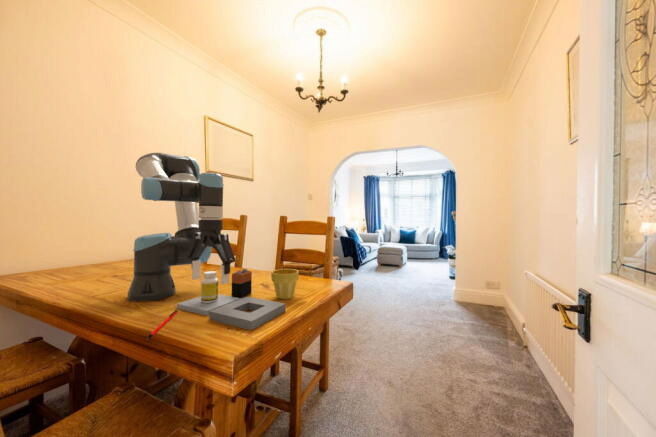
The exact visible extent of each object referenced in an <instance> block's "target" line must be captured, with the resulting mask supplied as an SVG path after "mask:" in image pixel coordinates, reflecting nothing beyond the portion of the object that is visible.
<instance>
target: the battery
mask: <svg viewBox="0 0 656 437" xmlns="http://www.w3.org/2000/svg"><path fill="white" fill-rule="evenodd" d="M252 276H253V274H252V271H250V270H248V268H242V269H241V270H236V272H233V273H232V274H231V297H237V298H240V299H242V298H245V297H249V296H250V295H252Z"/></svg>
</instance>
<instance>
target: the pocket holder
mask: <svg viewBox="0 0 656 437" xmlns="http://www.w3.org/2000/svg"><path fill="white" fill-rule="evenodd" d="M247 311H251V312H247ZM285 312H286V303H285V302H279V301H272V300H268V299H263V298H262V299H261V298H257V297H251V296H246V297H243V298H241V299H240V300H237V301H235V302H232V303H229V304H227V305H224V306H222V307H219V308H217V309H214V310H211V311H209V315H208V321H212V322H216V323H220V324H224V325H228V326H233V327H235V328H240V329H241V328H242V329H244V330H245V329H246V330H250V331H253V330H255V329H257V328H258V327H260V326H262V325H263V324H265V323H268V322H269V321H271V320H273V319H274V318H276V317H278V316H279V315H281V314H283V313H285Z"/></svg>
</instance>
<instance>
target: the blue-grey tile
mask: <svg viewBox="0 0 656 437" xmlns="http://www.w3.org/2000/svg"><path fill="white" fill-rule="evenodd" d="M237 300H240V298H237V297H232V295H231V296H230V295H226V294H225V295H224V294H220V293H218V300H217V301H215V302H211V303H203V302H201V295H200V296H197V297H195V298H192V299H187V300H186V301H182V302H179V303H177V304H176V309H177V310H183V311H187V312H190V313H193V314H194V313H195V314H200V315H203V316H208V317H209V311H211V310H214V309H217V308H219V307H222V306H224V305H227V304H229V303H232V302H235V301H237Z"/></svg>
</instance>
